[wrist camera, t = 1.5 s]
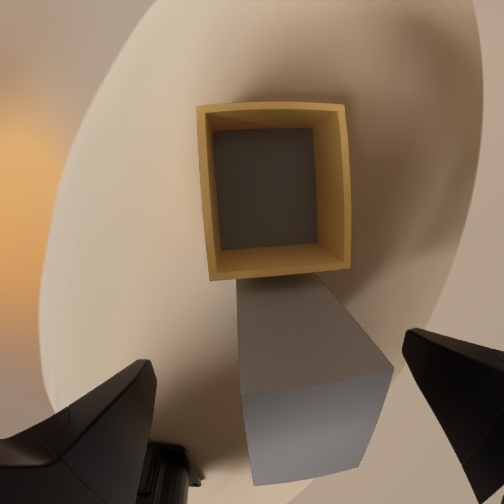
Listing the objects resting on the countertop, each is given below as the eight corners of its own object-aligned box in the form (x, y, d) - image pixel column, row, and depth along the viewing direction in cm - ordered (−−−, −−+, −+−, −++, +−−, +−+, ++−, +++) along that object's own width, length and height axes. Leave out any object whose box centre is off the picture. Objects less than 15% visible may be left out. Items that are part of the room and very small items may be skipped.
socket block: (319, 245, 12) (350, 268, 9) (216, 253, 12) (209, 281, 8) (313, 125, 11) (343, 104, 7) (207, 129, 11) (196, 106, 7)
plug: (302, 336, 13) (358, 466, 5) (242, 342, 13) (253, 485, 5) (302, 260, 12) (394, 367, 4) (236, 265, 12) (239, 394, 4)
